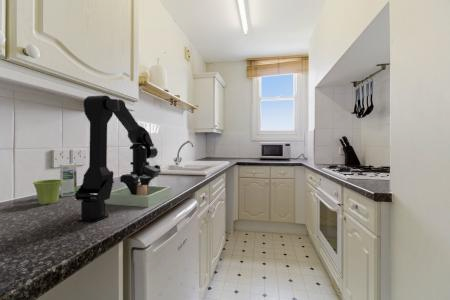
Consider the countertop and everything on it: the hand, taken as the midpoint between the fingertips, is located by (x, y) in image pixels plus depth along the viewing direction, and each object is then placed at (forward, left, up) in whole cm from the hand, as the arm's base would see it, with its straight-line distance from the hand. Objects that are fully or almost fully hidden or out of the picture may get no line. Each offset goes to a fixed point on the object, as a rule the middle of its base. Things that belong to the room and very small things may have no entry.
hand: (139, 195), depth 99 cm
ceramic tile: (-2, +20, -2) cm, 20 cm away
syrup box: (-1, +36, -2) cm, 36 cm away
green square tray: (0, 0, -2) cm, 2 cm away
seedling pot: (0, 0, -2) cm, 2 cm away
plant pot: (-14, +32, -2) cm, 35 cm away
